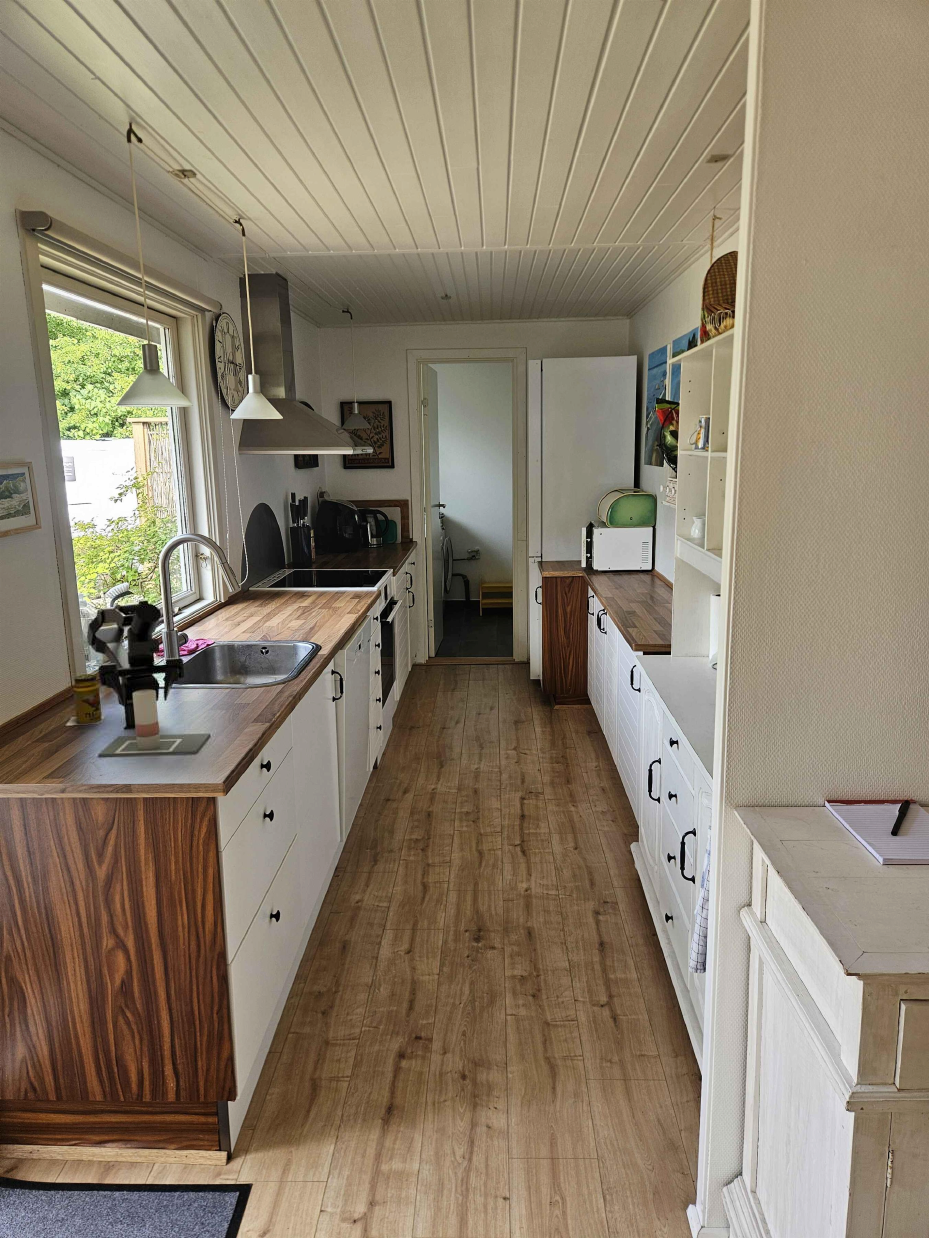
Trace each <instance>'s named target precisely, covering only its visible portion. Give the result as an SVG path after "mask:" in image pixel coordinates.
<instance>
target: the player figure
mask: <svg viewBox="0 0 929 1238" xmlns="http://www.w3.org/2000/svg"><path fill="white" fill-rule="evenodd" d="M157 702H158V701H156V691H155V690H140V691H136V692H134V693H133V704H134V715H135V729H134V730H135V736H136V737H137V748H138V749H140V750H149V749H154V748H157V747H159V746H160V736H159V735H160V724H159V723H160V722H159V715H158V706H157Z"/></svg>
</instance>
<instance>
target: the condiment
mask: <svg viewBox="0 0 929 1238" xmlns="http://www.w3.org/2000/svg"><path fill="white" fill-rule="evenodd" d="M73 680H74V684H73V685H74V687H73V698H74V705H75V706H74V709H75V715H76V716H72V717H70V720H69V721H68V722H67V723H66V724H65V726H67V727H68V726H79V725H82V726H83V725H94V724H95V725H96V724H97V725H98V724H100V723H101V724H102V721H104V719H105V717H106V714H103V715H102V708H101V707H102V706H101V695H100V686H99V685H98V684H97V683H98V681H97V676H96V674H92V673H90V674H81V675H77V676H75V677H74V678H73Z"/></svg>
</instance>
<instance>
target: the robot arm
mask: <svg viewBox="0 0 929 1238" xmlns="http://www.w3.org/2000/svg"><path fill="white" fill-rule="evenodd" d="M161 616H162V612H161V609H159V608H158V607H157V606H156V605H155V604H152V603H149V601H148V599H146V600H138V602H131V603H130V602H129V603H120V604H116V605H115V606H111V607H110V606H109V607H102V608H100V609H97V612H96V616H95V617H94V618H93V619H92V620H91V622H90V623H88V626H87V633H86V639H87V644H88V645H89V646H90V647H91V649H93V650H94V651H95V653H97V654H101V655H105V657H106V658H107V659H108V660H109V663H102V664H100V665H99V666H98V675H99V682H100V685H101V686H103V687H105V686H106V687H107V688H108V689H112V690H113V692H114V693H115V694H116V696H117V701H118V704H119V705H121V706H123V707H124V709H123V710H124V717H125V718H124V720H125V725H124V726H123V730H136V729H135V715H134V704H133V693H134V692H136V691H140V690H155V691H156V702H158V701H159V699H160V698H159V697H160V696H159V695H160V682H159V680H158V679H157V677H155V675H159V674H164V686H163V700H164V702H165V701H167V700H168V696H169V694H170V691H171V688H172V686H173V685H174V684H175V682H179V680H180V679H183V678H185V672H184V671H185V670H184V669H185V666H184V660H183V658H181V657H171V658H170V657H169V658H165V664H156V665H155V654H160V640H159V639H160V638H153V634H154V633H155V632H156V629H157V627H158V624H159V621H160V619H161ZM109 623H115V625H114V624H113V625H108V626H107V625H106V626H103V624H109ZM125 628H128V629H127V632H126V634H127V650H126V648H125V646H124V645H123V639H124V634H125ZM120 679H121V680H120Z"/></svg>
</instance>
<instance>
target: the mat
mask: <svg viewBox="0 0 929 1238" xmlns="http://www.w3.org/2000/svg"><path fill="white" fill-rule="evenodd" d="M159 736H160V746H159V747H157V748H154V749H149V750H140V749H138V748H137V737H136V735H119V736H117V737H116V738H114V740H113V741H111V742H110V743H109V744H108V745H107V746H106V747H105V748H104V749H102V750H101V751H100V752H99V753H97V757H100V758H102V757H126V756H127V757H131V756H132V757H133V756H136V757H137V756H161V755H164V756H167V755H168V756H169V755H191V754H193V755H194V754H195V755H196V754H198V752H199V750H201V748H202V747H203V745H204V744H205V743H206V742H207V741H208V739H209V738H210V737H211V733H185V734H184V733H182V734H181V733H180V734H179V733H177V734H175V733H173V734H159Z"/></svg>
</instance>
